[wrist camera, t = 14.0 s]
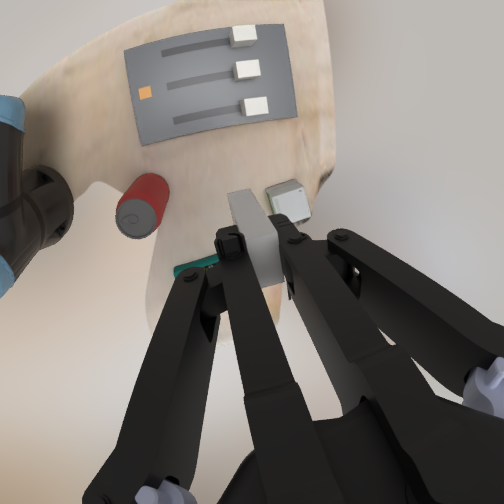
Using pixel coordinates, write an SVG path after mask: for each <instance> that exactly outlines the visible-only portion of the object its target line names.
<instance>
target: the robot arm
mask: <svg viewBox="0 0 504 504" xmlns="http://www.w3.org/2000/svg"><path fill="white" fill-rule="evenodd" d="M24 122H25V104H24V102H23V101H22V100H21V99H19V98H17V97H12V96H5V95H0V298H1V297H2V296H3V295H4V294H5V293H6V292H7V290H8V289H9V288H11V287H12V286H13V285H14V283H15V281H16V280H17V278H18V277H19V275H20V274H21V273H22V272H23V270H24V269H25V267H26V266H27V265H28V264H29V262H30V261H31V260H32V258H33V257H34V256H35V255H36V253H37V252H38V251H39V250H41V249H44V248H46V247H49V246H51V245H54V244H55V243H57V242H58V241H59V240H61V238H62V237H63V236H64V235H65V234H66V233H67V231H68V230H69V228H70V226H71V223H72V220H73V215H74V204H73V198H72V194H71V191H70V189H69V187H68V185H67V183H66V182H65V180H64V179H63V177H62V176H61V175H60V174H59V173H58V172H56V171H55V170H53V169H51V168H49V167H46V166H34V167H31V168H29V169H27V170H25V171H23V172H22V157H23V138H24V134H25V129H24ZM227 196H228V200H229V205H230V209H231V213H232V218H233V222H234V225H233V226H229V227H225V228H221V229H218V231H217V233H216V239H215V241H214V245H215V248H216V252H217V255H218V259H219V262H218V263H217V264H216V265H215V266H214V267H213V268H211V269H209V270H207V271H205V270H204V269H203V268H201V267H190V268H186V269H184V270H183V271H181V272H180V273H179V274H178V275H177V277H176V279H175V281H174V284H173V286H172V288H171V291H170V293H169V296H168V298H167V300H166V303H165V305H164V308H163V310H162V313H161V315H160V318H159V321H158V323H157V326H156V328H155V331H154V333H153V336H152V339H151V342H150V344H149V347H148V350H147V352H146V355H145V358H144V361H143V363H142V366H141V369H140V372H139V375H138V378H137V380H136V383H135V386H134V389H133V392H132V395H131V398H130V401H129V404H128V408H127V411H126V414H125V417H124V421H123V424H122V427H121V430H120V434H119V437H118V441H117V444H116V447H115V449H114V450H113V452H112V453H111V455H110V456H109V458H108V459H107V460H106V462H105V463H104V465H103V466H102V468H101V469H100V470H99V472H98V473H97V475H96V476H95V478H94V479H93V480H92V482H91V483H90V485H89V486H88V488H87V489H86V491H85V492H84V495H83V497H82V504H197V501H196V499H195V497H194V496H193V495H192V494H191V493H190V492H189V489H190V486H191V483H192V481H193V478H194V474H195V469H196V465H197V458H198V452H199V445H200V439H201V432H202V425H203V419H204V413H205V406H206V401H207V395H208V388H209V382H210V376H211V371H212V365H213V359H214V353H215V347H216V342H217V336H218V330H219V325H220V319H221V317H220V314H221V313H223V312H225V311H227V310H228V314H229V320H230V325H231V330H232V335H233V340H234V345H235V351H236V355H237V360H238V365H239V370H240V375H241V380H242V384H243V389H244V393H245V396H244V404H245V409H246V414H247V418H248V423H249V427H250V432H251V436H252V440H253V445H254V450H253V451H251V453H249V455H248V456H246V458H245V459H244V460H243V461H242V463H241V464H240V466H239V468H238V469H237V471H236V473H235V474H234V476H233V478H232V480H231V481H230V483H229V485H228V486H227V488H226V490H225V491H224V493H223V495H222V497H221V498H220V499H219V501H218V503H217V504H504V326H502V325H499V324H497V323H494V322H492V321H490V320H489V319H488V318H486V317H485V316H484V315H482V314H481V313H480V312H478V311H477V310H476V309H474V308H473V307H471V306H470V305H469V304H467V303H466V302H464V301H463V300H462V299H460V298H459V297H457V296H456V295H454V294H453V293H451V292H450V291H448V290H447V289H446V288H444V287H443V286H441V285H439V284H438V283H437V282H435V281H433V280H432V279H430V278H429V277H427V276H426V275H424V274H423V273H421V272H420V271H418V270H416V269H415V268H413V267H411V266H410V265H408V264H407V263H405V262H404V261H402V260H400V259H399V258H397V257H395V256H394V255H392V254H391V253H389V252H387V251H386V250H384V249H382V248H380V247H379V246H377V245H375V244H374V243H372V242H370V241H369V240H367V239H365V238H363V237H362V236H360V235H358V234H356V233H355V232H353V231H350V230H348V229H336V230H332V231H331V232H329V233H328V235H327V240H312V239H311V238H310V237H309V236H308V235H307V234H305V233H302V232H299V231H298V230H297V228H296V227H295V226H294V225H293V224H292V222H291V221H290V219H289V218H288V217H287V216H286V215H284V214H281V213H279V214H275V215H271V216H267V215H266V213H265V211H264V210H263V208H262V207H261V205H260V204H259V202H258V200H257V199H256V197H255V196H254V194H253V192H252V191H251V189H250V188H249V189H244V190H240V191H236V192H232V193H228V194H227ZM355 268H356V269H357V270H358V271H359V274H358V273H356V272H355ZM284 276H285V278H286V281H287V289H288V297H289V300H291V297H292V299H293V301H294V303H295V305H296V307H297V309H298V311H299V313H300V316H301V318H302V320H303V322H304V324H305V326H306V328H307V331H308V333H309V335H310V337H311V339H312V341H313V343H314V346H315V348H316V350H317V352H318V354H319V356H320V359H321V361H322V363H323V365H324V367H325V369H326V372H327V374H328V376H329V378H330V380H331V382H332V385H333V387H334V389H335V391H336V394H337V396H338V398H339V400H340V403H341V406H342V412H343V416H342V417H340V418H334V419H327V420H317V421H312V419H311V416H310V413H309V410H308V408H307V405H306V402H305V400H304V397H303V394H302V392H301V389H300V387H299V385H298V383H297V382H295V380H294V377H293V375H292V372H291V369H290V367H289V364H288V361H287V358H286V356H285V353H284V350H283V347H282V345H281V342H280V339H279V337H278V334H277V331H276V328H275V325H274V323H273V320H272V317H271V314H270V312H269V309H268V306H267V303H266V301H265V298H264V295H263V292H262V289H261V288H264V287H268V286H271V285H275V284H279V283H282V282H284ZM377 327H378V328H379V329H380V330H381V331H382V332H383V333H385V334H386V335H387V336H388V337H389V338H390V339H391V340H392V341H394V342H395V343H396V345H390V344H389V343H388V342H387V341H386V339H385V338H384V336H383V335H382V333H381V332H380V331H379V329H378V328H377ZM411 357H412V358H413V359H414V360H415V361H416V362H417V363H418V364H419V365H420V366H422V367H423V368H424V369H425V370H426V371H427V372H428V373H429V374H430V375H431V376H433V377H434V378H435V379H436V380H437V381H438V382H439V383H441V384H442V385H443V386H444V387H445V388H447V389H448V390H450V391H451V392H453V393H454V394H456V395H458V396H460V397H462V398H463V399H464V401H463V402H462V405H461V404H458V403H456V402H453V401H450V400H447V399H445V398H442V397H439V396H437V395H435V393H434V392H433V390H432V389H431V387H430V386H429V384H428V382H427V381H426V379H425V378H424V376H423V375H422V373H421V372H420V371H419V369H418V368H417V366H416V364H415V363H414V362H413V360H412V359H411Z"/></svg>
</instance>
